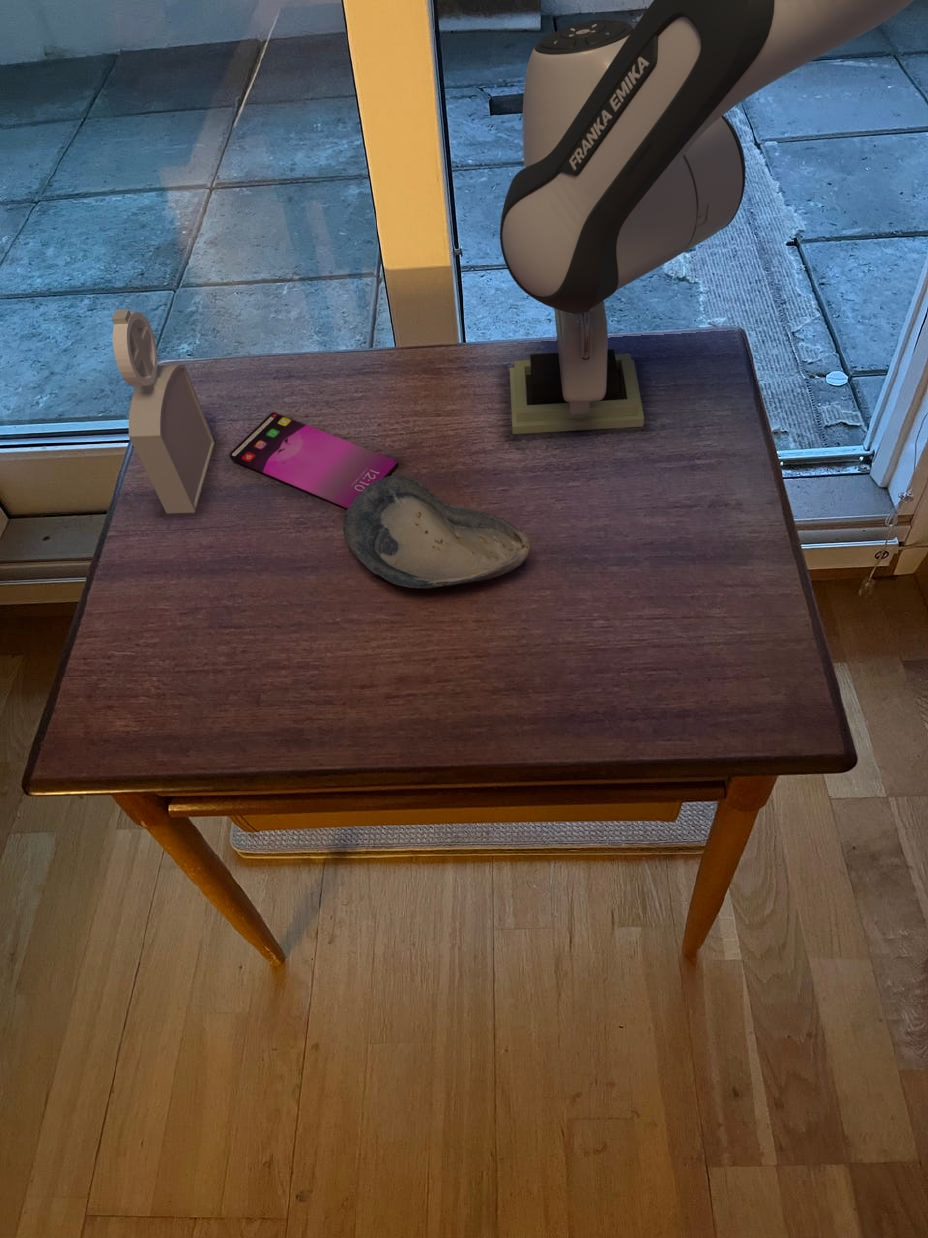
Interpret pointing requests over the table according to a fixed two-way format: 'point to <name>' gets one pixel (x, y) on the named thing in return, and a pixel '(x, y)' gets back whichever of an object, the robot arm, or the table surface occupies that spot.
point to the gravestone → (163, 416)
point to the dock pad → (558, 415)
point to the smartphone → (311, 459)
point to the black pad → (549, 378)
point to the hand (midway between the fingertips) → (575, 376)
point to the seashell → (428, 537)
